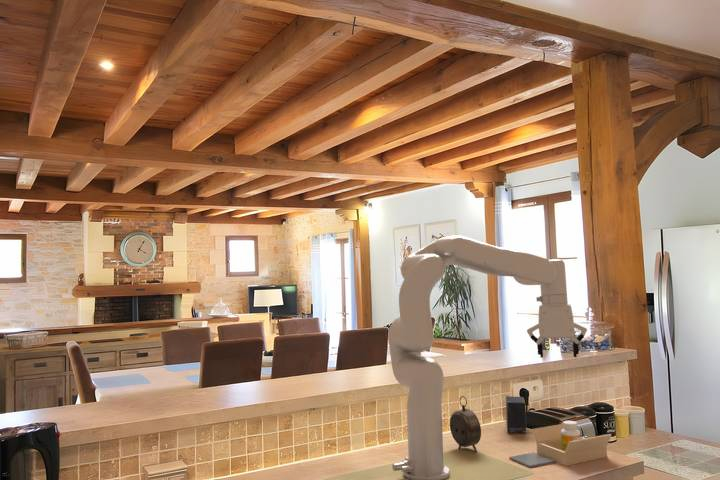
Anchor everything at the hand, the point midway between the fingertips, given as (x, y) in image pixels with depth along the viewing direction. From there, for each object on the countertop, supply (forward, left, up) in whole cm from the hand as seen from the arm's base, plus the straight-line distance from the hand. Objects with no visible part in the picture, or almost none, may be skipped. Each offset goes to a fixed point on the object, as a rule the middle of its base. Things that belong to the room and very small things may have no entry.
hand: (558, 356), depth 178 cm
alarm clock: (-24, +17, -28) cm, 41 cm away
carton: (-1, -4, -28) cm, 29 cm away
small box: (+4, +27, -29) cm, 39 cm away
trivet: (-14, -2, -28) cm, 31 cm away
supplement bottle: (-1, -4, -28) cm, 29 cm away
